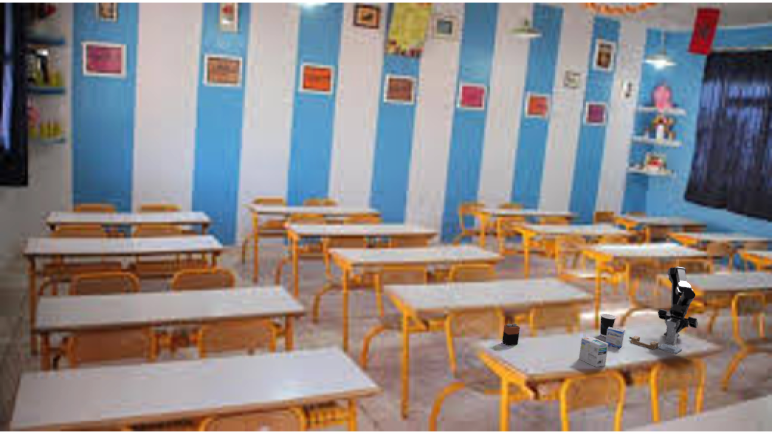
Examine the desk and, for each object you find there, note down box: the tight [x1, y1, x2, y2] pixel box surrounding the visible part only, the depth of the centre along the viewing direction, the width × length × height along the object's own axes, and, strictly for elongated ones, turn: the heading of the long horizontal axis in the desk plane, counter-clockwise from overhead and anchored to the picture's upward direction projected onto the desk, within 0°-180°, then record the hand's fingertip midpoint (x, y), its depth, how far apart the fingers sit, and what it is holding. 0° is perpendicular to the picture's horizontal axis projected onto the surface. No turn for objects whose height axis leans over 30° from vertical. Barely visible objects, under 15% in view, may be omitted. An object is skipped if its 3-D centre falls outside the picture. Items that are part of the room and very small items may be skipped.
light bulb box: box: [578, 336, 609, 368], centre depth 306 cm, size 11×7×11 cm, turn 33°
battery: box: [501, 323, 521, 346], centre depth 322 cm, size 4×7×10 cm, turn 116°
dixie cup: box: [600, 313, 617, 338], centre depth 347 cm, size 8×8×11 cm
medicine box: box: [604, 327, 626, 349], centre depth 333 cm, size 8×4×9 cm, turn 62°
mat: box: [657, 343, 683, 355], centre depth 335 cm, size 9×9×1 cm
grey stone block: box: [665, 318, 680, 347], centre depth 332 cm, size 8×4×13 cm, turn 139°
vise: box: [629, 335, 659, 350], centre depth 339 cm, size 6×14×2 cm, turn 49°
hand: (671, 331), depth 332 cm, fingers closed on grey stone block, 4 cm apart
